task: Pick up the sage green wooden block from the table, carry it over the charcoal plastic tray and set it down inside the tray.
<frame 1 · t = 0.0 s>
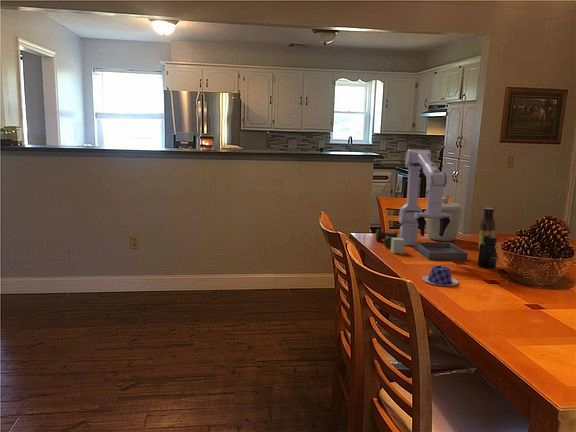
hand: (431, 235, 183), 10 cm above the table, tool pointing down, fingers open, 7 cm apart
tray: (439, 254, 195), on the table
sauce bottle: (485, 253, 200), on the table
supplement bottle: (486, 267, 178), on the table
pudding: (439, 282, 158), on the table
kendama: (386, 243, 213), on the table
green block: (396, 252, 196), on the table
canister: (441, 239, 224), on the table
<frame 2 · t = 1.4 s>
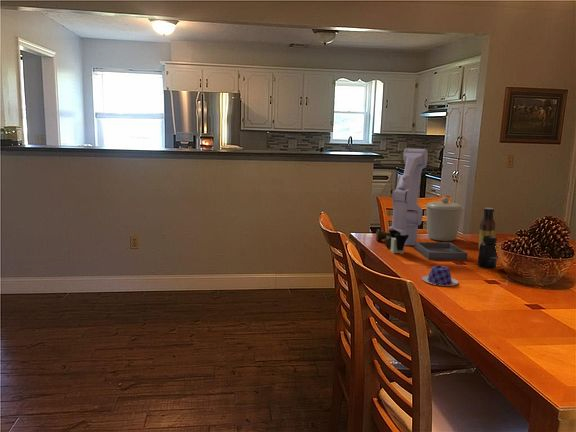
hand: (397, 248, 196), 2 cm above the table, tool pointing down, fingers open, 7 cm apart
nothing on the table moved.
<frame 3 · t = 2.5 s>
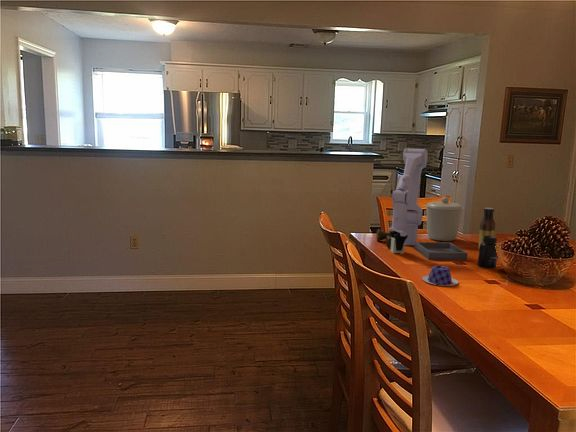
hand: (397, 249, 196), 1 cm above the table, tool pointing down, fingers closed on green block, 4 cm apart
green block: (396, 252, 196), on the table, touching gripper
everything else where it was.
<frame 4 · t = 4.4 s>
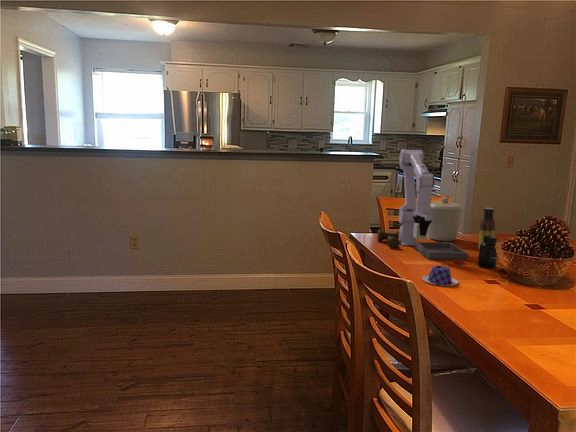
hand: (420, 234, 194), 8 cm above the table, tool pointing down, fingers closed on green block, 4 cm apart
green block: (419, 237, 194), point 7 cm above the table, touching gripper
everything else where it was.
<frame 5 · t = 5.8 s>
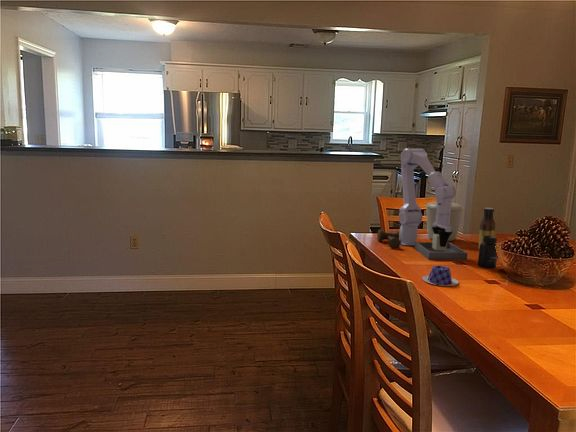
hand: (440, 245, 194), 4 cm above the table, tool pointing down, fingers closed on green block, 4 cm apart
green block: (439, 248, 195), point 2 cm above the table, touching gripper
when the fingers open (4 cm above the table, at t = 6.7 s): green block drops 1 cm, resting on tray.
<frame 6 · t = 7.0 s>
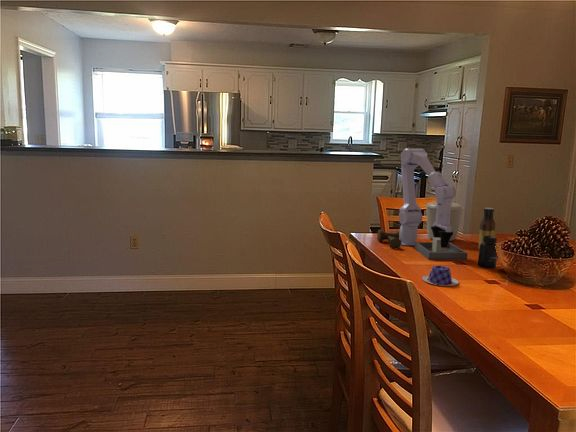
hand: (440, 245, 194), 4 cm above the table, tool pointing down, fingers open, 7 cm apart
green block: (438, 252, 195), point 1 cm above the table, touching tray
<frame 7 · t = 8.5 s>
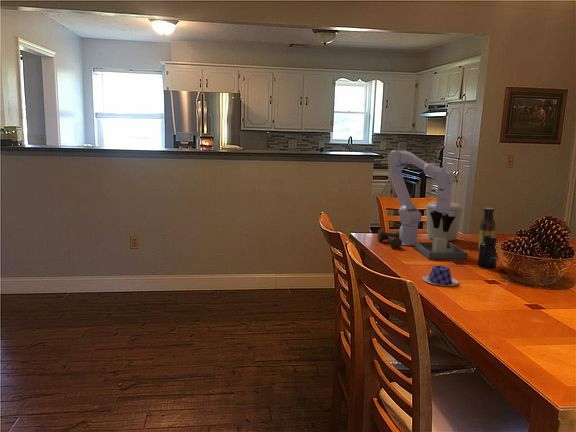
hand: (440, 229, 199), 9 cm above the table, tool pointing down, fingers open, 7 cm apart
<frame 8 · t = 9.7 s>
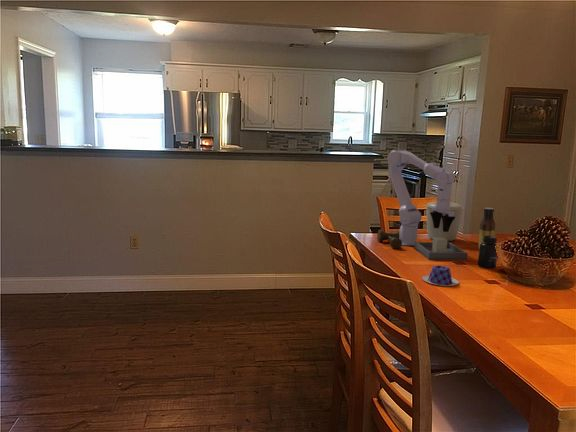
hand: (440, 229, 199), 9 cm above the table, tool pointing down, fingers open, 7 cm apart
at the end: green block inside the target area on the tray (0.4 cm from its centre), point 0.8 cm above the tray's base; green block tilted 0°; the gripper is holding nothing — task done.
